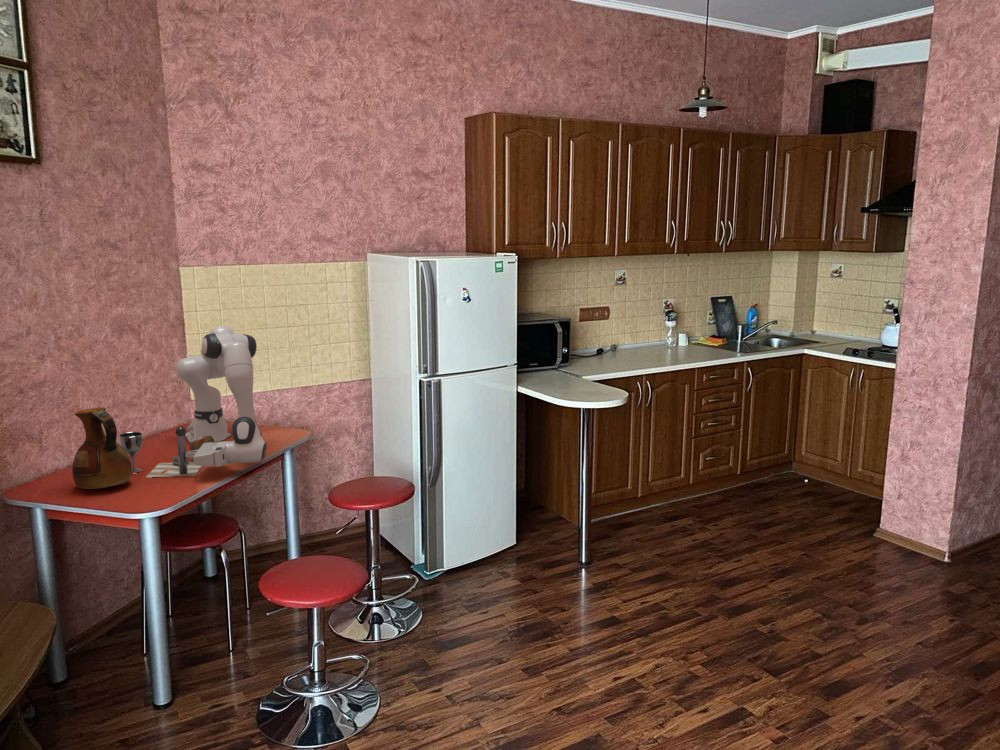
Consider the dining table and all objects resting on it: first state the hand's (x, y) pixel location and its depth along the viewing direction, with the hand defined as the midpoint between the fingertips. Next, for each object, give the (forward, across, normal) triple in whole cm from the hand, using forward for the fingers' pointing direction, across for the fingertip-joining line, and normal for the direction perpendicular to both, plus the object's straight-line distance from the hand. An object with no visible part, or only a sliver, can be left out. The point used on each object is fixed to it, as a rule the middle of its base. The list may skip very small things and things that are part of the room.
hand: (186, 454), depth 299 cm
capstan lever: (+4, -8, +7) cm, 11 cm away
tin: (-1, -25, +9) cm, 26 cm away
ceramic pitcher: (+27, +10, +9) cm, 30 cm away
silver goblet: (+22, -8, +9) cm, 25 cm away
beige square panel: (+6, -7, +8) cm, 12 cm away
